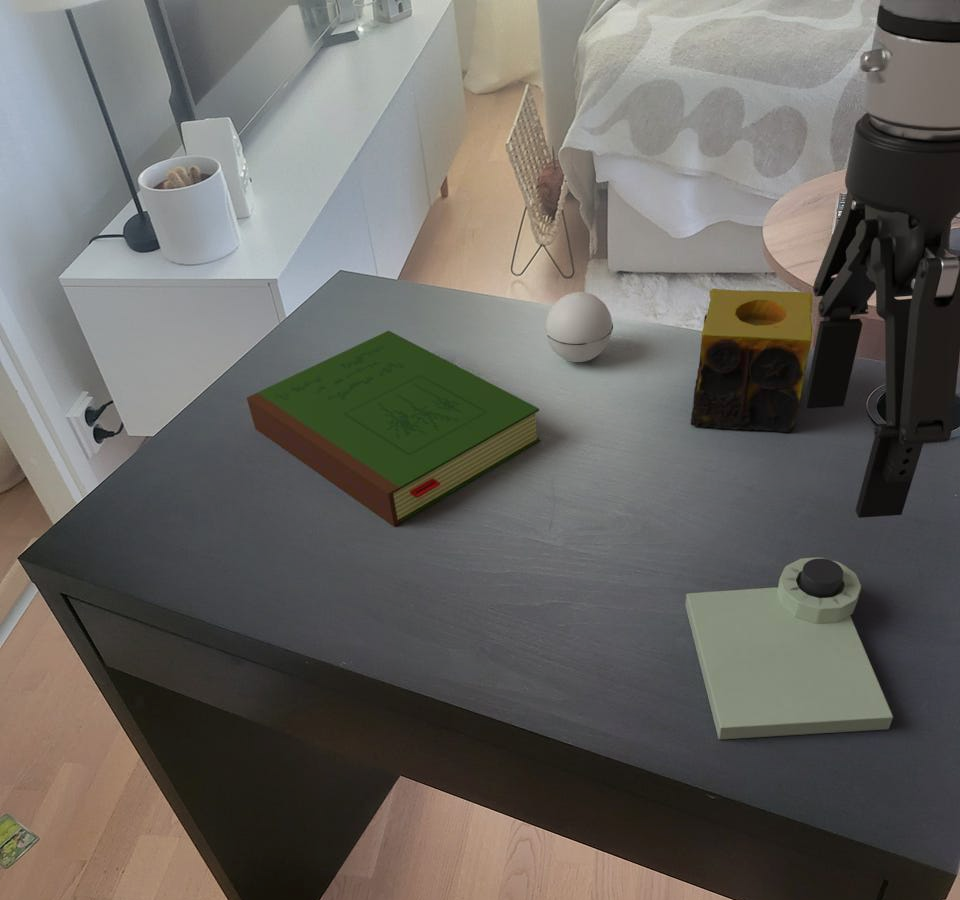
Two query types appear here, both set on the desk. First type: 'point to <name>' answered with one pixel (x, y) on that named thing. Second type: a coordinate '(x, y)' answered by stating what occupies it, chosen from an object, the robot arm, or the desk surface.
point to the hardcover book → (394, 424)
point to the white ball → (579, 327)
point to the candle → (752, 360)
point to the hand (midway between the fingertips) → (849, 455)
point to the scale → (785, 660)
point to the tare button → (821, 578)
